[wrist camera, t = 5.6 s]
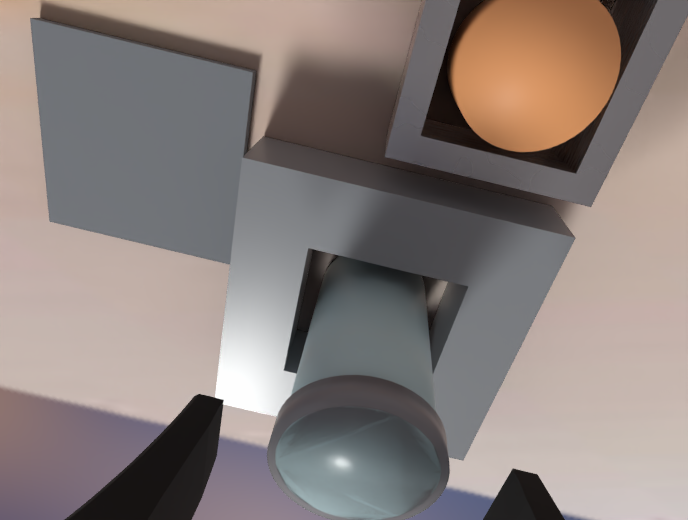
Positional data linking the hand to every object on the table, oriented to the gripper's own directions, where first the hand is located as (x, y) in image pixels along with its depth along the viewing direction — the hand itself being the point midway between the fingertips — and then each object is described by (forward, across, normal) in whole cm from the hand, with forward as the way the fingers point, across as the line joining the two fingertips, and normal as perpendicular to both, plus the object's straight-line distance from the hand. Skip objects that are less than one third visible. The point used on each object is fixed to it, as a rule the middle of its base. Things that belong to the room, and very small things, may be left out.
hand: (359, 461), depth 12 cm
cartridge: (+8, 0, 0) cm, 8 cm away
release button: (+7, -2, -9) cm, 12 cm away
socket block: (+8, 0, 0) cm, 8 cm away
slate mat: (+8, +9, -4) cm, 12 cm away
